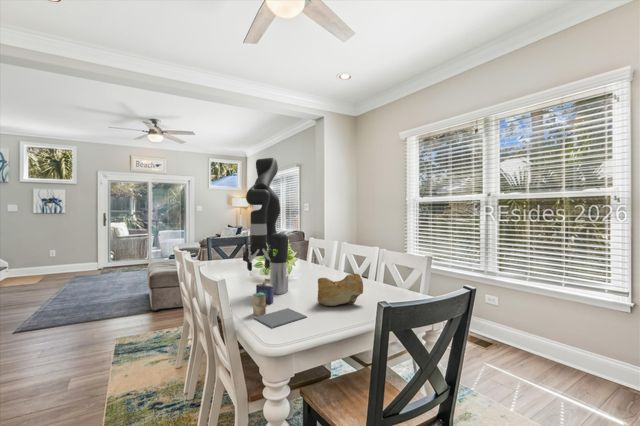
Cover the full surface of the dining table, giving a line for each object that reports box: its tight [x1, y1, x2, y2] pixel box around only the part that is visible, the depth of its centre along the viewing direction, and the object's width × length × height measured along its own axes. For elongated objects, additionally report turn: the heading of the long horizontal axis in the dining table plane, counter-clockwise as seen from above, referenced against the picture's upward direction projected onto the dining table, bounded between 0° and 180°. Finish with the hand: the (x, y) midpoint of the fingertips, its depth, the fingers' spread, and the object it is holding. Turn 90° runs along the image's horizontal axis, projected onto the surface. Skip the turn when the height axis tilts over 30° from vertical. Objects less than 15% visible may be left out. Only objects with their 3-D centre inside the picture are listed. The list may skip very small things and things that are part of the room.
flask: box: [255, 281, 274, 305], centre depth 155 cm, size 9×3×11 cm, turn 74°
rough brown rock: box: [317, 273, 364, 307], centre depth 157 cm, size 23×17×15 cm
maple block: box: [252, 292, 267, 317], centre depth 139 cm, size 4×4×9 cm
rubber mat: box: [253, 307, 308, 329], centre depth 134 cm, size 18×14×1 cm
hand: (258, 269), depth 139 cm, fingers open, 8 cm apart
